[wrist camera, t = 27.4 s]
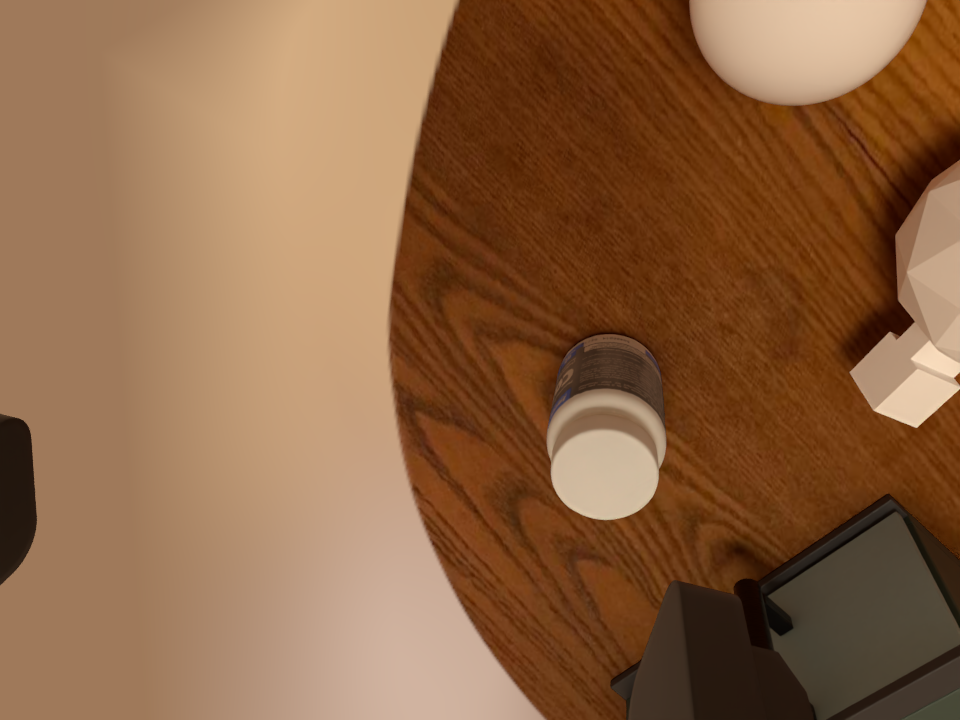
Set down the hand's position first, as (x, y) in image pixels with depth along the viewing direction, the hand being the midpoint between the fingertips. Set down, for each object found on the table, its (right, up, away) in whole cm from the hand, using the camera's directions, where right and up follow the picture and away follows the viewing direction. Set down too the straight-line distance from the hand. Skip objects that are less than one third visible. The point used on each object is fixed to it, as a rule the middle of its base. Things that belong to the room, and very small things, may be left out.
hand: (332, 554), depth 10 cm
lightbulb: (+12, +16, +20) cm, 29 cm away
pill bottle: (+8, +2, +28) cm, 29 cm away
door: (+17, -6, +28) cm, 34 cm away
